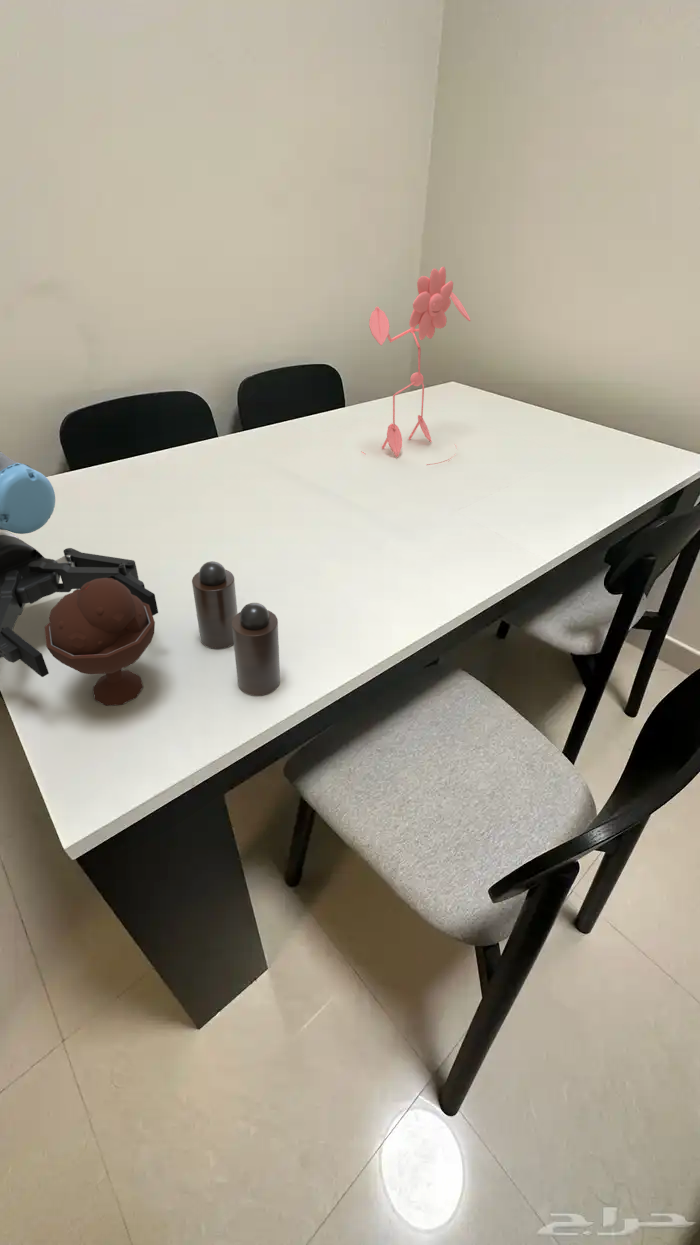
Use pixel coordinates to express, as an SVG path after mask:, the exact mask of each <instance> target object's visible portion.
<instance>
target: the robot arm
mask: <svg viewBox="0 0 700 1245" xmlns="http://www.w3.org/2000/svg"><path fill="white" fill-rule="evenodd" d="M55 507H56V493H55V490H54V486H53V485H52V483H51V481H50V479H48V477H47V476H46V475H44V474H43V473H42V472H40V471H38V470H35V468H33V467H31V466H30V465H28V464H26V463H22V462H17V461H15V460H13V459H12V458H10V457H9V456H8V455H6V454H5V453H3V452H2V451H0V659H1V658H2V659H3V658H4V659H5V660H6V661H7V662H9V663H12V664H13V663H16V662H17V661H19V660H20V661H21V662H23V663H24V664H25V665H26V666H27V667H29V668H30V669H31V670H33V672H34V673H36V674H37V675H39V676H40V677H41V678H44V677H45V676H47V675H49V674H50V672H49V670H48V666H47V664H46V661H45V658H44V656H43V653H42V652H41V651H39V650H38V649H36V647H34V646H33V645H31V644H30V643H29V642H28V641H26V640H25V639H24V638H22V637H21V636H20V635H19V634H17V633H16V632H15V631H13V630H14V629H15V628H14V627H15V625H16V623H17V620H18V617H19V616H21V615H22V614H23V611H24V609H25V605H27V604H30V605H32V604H34V603H36V602H38V601H39V600H41V599H42V598H45V597H48V596H51V595H53V594H55V593H71V591H72V590H77V589H81V587H82V586H83V585H84V584H85V583H87V582H90V581H92V580H94V579H99V578H113V579H114V580H117V581H119V582H120V583H122V584H123V585H125V586H126V587H127V588H128V589H129V590H130V592H131V594H132V595H135V596H137V597H138V598H139V599H140V600H141V601H142V602H144V603H146V604H148V605H149V606H150V609H151V612H152V615H153V616H155V615H157V614H159V609H158V605H157V604H158V603H157V600H156V594H155V593H154V592H152V591H151V590H149V589H147V588H146V586H145V583H144V582H143V581H142V580H140V578H139V573H138V569H137V564H136V561H135V560H133V559H128V558H121V557H115V556H107V555H100V554H95V553H88V552H81V551H79V550H77V549H75V548H73V547H67V548H65V549H63V555H64V556H62V557H60V558H57V559H56V560H55V559H53V558H47V557H44V555H43V554H42V553H40V551H39V550H37V549H36V548H34V547H33V546H32V545H30V544H29V543H27V542H26V541H24V540H22V539H20V538H19V537H18V536H16V535H15V534H18V535H24V534H25V535H26V534H30V533H33V532H36V531H38V530H40V529H41V528H42V527H44V526H45V525H46V524H47V523H48V521H49V520H50V518H51V516H52V515H53V513H54V511H55ZM60 579H61V583H60Z"/></svg>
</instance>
